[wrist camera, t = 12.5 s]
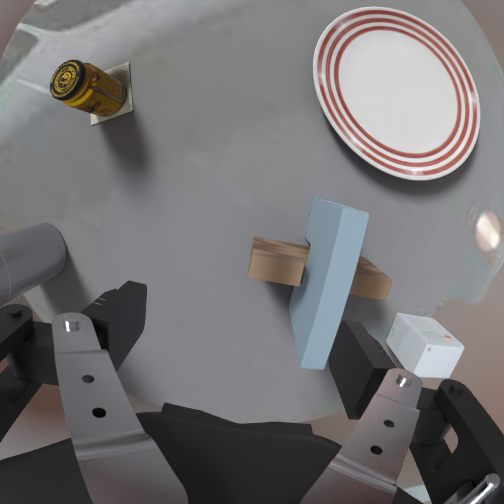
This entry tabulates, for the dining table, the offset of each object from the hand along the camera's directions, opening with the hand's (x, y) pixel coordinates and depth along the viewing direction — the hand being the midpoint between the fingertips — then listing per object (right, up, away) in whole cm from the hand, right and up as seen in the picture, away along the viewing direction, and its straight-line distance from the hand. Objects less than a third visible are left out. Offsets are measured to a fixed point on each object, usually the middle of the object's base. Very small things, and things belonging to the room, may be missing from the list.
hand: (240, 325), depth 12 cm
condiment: (-21, +27, +25) cm, 42 cm away
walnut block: (+8, +2, +29) cm, 31 cm away
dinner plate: (+22, +27, +24) cm, 42 cm away
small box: (+26, -10, +32) cm, 43 cm away
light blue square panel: (+8, +2, +29) cm, 31 cm away
